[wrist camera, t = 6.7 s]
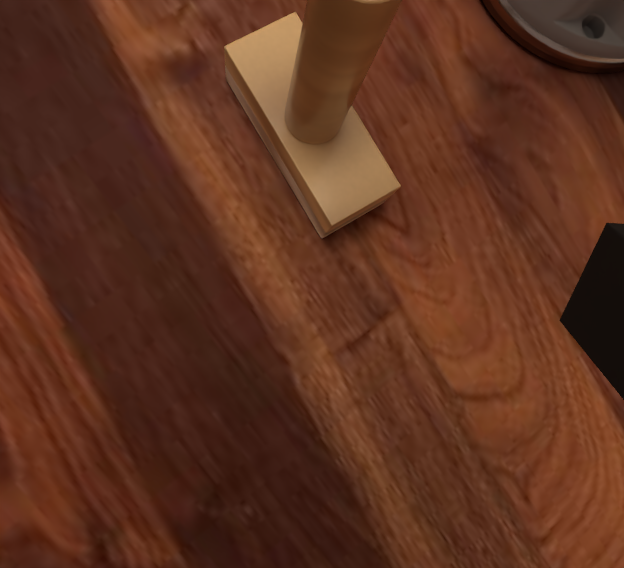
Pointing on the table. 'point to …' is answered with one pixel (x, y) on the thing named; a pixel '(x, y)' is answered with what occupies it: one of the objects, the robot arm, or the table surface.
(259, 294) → the table surface
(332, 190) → the peg on base
